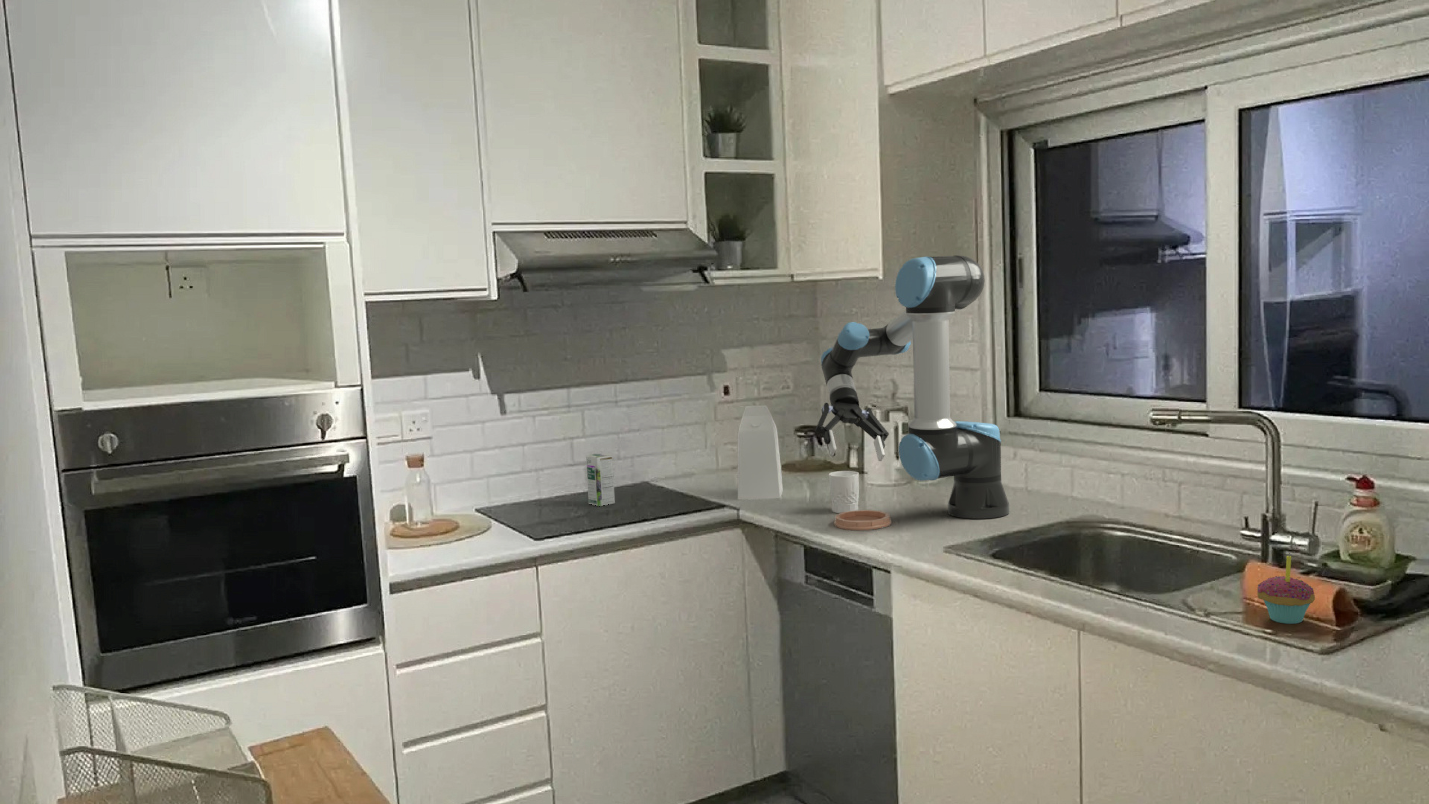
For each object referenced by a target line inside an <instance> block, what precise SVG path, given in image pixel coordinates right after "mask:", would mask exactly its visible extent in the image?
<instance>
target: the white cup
mask: <svg viewBox="0 0 1429 804" xmlns="http://www.w3.org/2000/svg"><path fill="white" fill-rule="evenodd" d="M828 481H829V482H828V483H829V492H830V493H829V494H830V500H831V510H832V513H836V514H840V513H842V512H848V511H855V510H859V495H860V494H859V490H860V483H859V482H860V473H859V472H858V471H854V470H838V471H833V472H832V471H831V472H829V473H828Z"/></svg>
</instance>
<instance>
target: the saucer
mask: <svg viewBox="0 0 1429 804" xmlns="http://www.w3.org/2000/svg"><path fill="white" fill-rule="evenodd" d="M833 522H834V523H833V524H834V527H836V528H838V529H841V530H847V531H872V530H871V529H874V530H878V529H877V528H881V529H883V528H882V527H885V528H888V527H889V525H890V524H891V525H892V518H891V516H890V513H889V512H887V511H882V510H872V509H861V510H860V509H858V510H855V511H848V512H842V513H837V514H835V519H834V521H833ZM891 525H890V526H891ZM887 526H888V527H887Z"/></svg>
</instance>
